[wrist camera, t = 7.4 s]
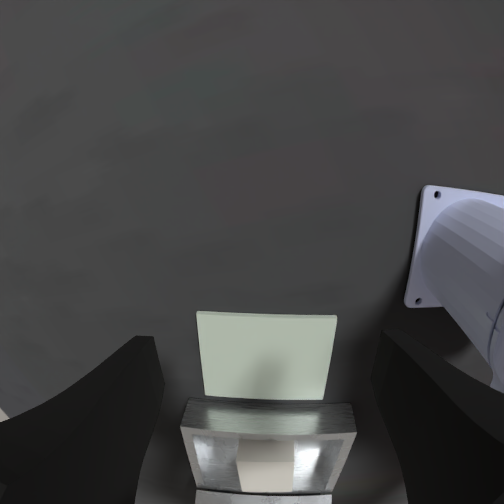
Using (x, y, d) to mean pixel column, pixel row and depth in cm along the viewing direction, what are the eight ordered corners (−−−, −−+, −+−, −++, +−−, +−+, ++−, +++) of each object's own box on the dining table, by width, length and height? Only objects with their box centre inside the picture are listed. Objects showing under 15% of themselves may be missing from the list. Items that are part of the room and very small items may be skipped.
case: (350, 402, 23) (360, 450, 18) (323, 481, 28) (326, 518, 23) (189, 397, 24) (174, 444, 19) (205, 477, 28) (198, 513, 24)
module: (293, 417, 23) (294, 461, 19) (291, 452, 25) (292, 491, 21) (241, 418, 24) (235, 461, 19) (246, 452, 25) (241, 491, 21)
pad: (336, 315, 20) (337, 318, 20) (322, 395, 23) (322, 399, 22) (197, 310, 21) (196, 314, 20) (206, 391, 23) (205, 395, 23)
